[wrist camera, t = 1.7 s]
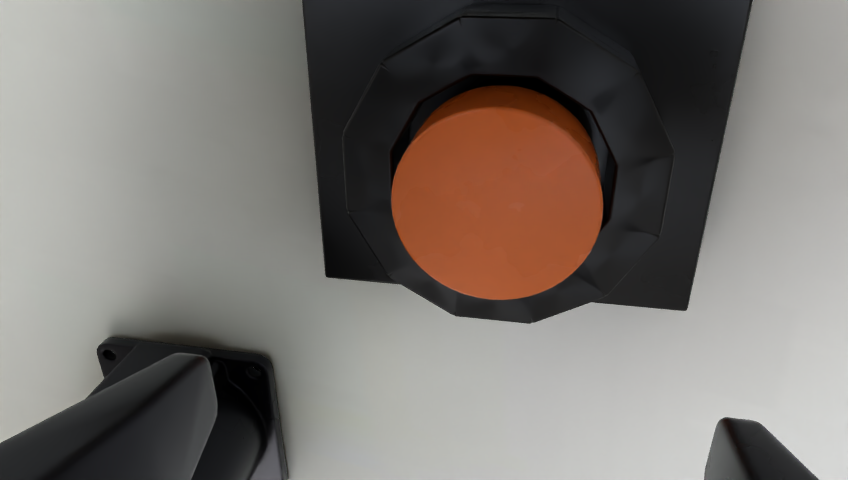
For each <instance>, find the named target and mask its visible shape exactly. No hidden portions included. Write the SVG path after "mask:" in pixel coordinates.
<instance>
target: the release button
mask: <svg viewBox="0 0 848 480" xmlns="http://www.w3.org/2000/svg"><path fill="white" fill-rule="evenodd" d="M391 206H392V215H393V219H394V223H395V227H396V230H397V232H398V235H399V237H400V239H401V241H402V243H403V245H404V247H405V249H406V250H407V252H408V253H409V254H410V256H411V257H412V259H413V260H414V261H415V262H416V263H417V264H418V265H419V266H420V267H421V269H423V270H424V271H425V272H426V273H427V274H428V275H430V276H431V277H432V278H434V279H435V280H437V281H438V282H440V283H441V284H443V285H445V286H447V287H449V288H451V289H452V290H455V291H458V292H460V293H463V294H466V295H469V296H473V297H477V298H484V299H492V300H508V299H518V298H523V297H528V296H531V295H535V294H538V293H541V292H543V291H545V290H548V289H550V288H552V287H554V286H555V285H557V284H559V283H560V282H562V281H563V280H565V279H566V278H567V277H568V276H570V275H571V274H572V273H573V272H574V271H575V270H576V269H577V268H578V267H579V266H580V265H581V264H582V263H583V262H584V260H585V259H586V257H587V256H588V255H589V253H590V252H591V250H592V248H593V246H594V244H595V242H596V240H597V237H598V234H599V231H600V228H601V223H602V218H603V195H602V186H601V178H600V170H599V163H598V159H597V154H596V151H595V148H594V146H593V143H592V141H591V138H590V137H589V135H588V133H587V131H586V130H585V128H584V127H583V125H582V124H581V123H580V122H579V120H578V119H577V118H576V117H575V116H574V115H573V114H572V113H571V112H570V111H569V110H568V109H567V108H565V107H564V106H563V105H561V104H560V103H559V102H557V101H556V100H554V99H552V98H550V97H548V96H546V95H545V94H542V93H539V92H537V91H534V90H531V89H527V88H523V87H519V86H509V85H491V86H485V87H479V88H475V89H472V90H468V91H465V92H463V93H461V94H459V95H456V96H454V97H452V98H451V99H449V100H448V101H446V102H444V103H443V104H442V105H440V106H439V107H438V108H437V109H436V110H434V111H433V112H432V113H431V114H430V116H429V117H428V118H427V119H426V120H425V121H424V123H423V124H422V126H421V127H420V128H419V130H418V132H417V133H416V135H415V136H414V138H413V140H412V141H411V143H410V145H409V146H408V148H407V149H406V151H405V153H404V154H403V156H402V158H401V160H400V162H399V164H398V166H397V169H396V172H395V175H394V179H393V185H392V191H391Z"/></svg>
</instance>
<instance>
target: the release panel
mask: <svg viewBox="0 0 848 480" xmlns="http://www.w3.org/2000/svg"><path fill="white" fill-rule="evenodd" d="M752 2H753V0H302V5H303V17H304V29H305V40H306V52H307V64H308V76H309V88H310V99H311V111H312V123H313V135H314V146H315V158H316V170H317V182H318V194H319V205H320V217H321V229H322V241H323V252H324V264H325V275H326V277H328V278H338V279H348V280H359V281H370V282H380V283H391V284H401V285H403V286H405V287H406V288H408V289H410V290H411V291H413V292H415V293H417V294H418V295H420V296H422V297H423V298H425V299H427V300H428V301H430V302H432V303H433V304H435V305H437V306H438V307H440V308H442V309H444V310H445V311H447V312H449V313H450V314H452V315H455V316H459V317H469V318H479V319H489V320H499V321H509V322H519V323H529V324H530V323H534V322H537V321H540V320H543V319H546V318H548V317H551V316H554V315H557V314H559V313H562V312H565V311H568V310H571V309H573V308H576V307H579V306H582V305H584V304H587V303H590V302H594V303H605V304H616V305H626V306H637V307H648V308H658V309H669V310H680V311H686V310H687V308H688V304H689V300H690V295H691V290H692V286H693V281H694V276H695V271H696V267H697V262H698V257H699V253H700V248H701V243H702V238H703V234H704V229H705V224H706V219H707V215H708V210H709V205H710V201H711V196H712V191H713V186H714V182H715V177H716V172H717V168H718V163H719V158H720V153H721V149H722V144H723V139H724V134H725V130H726V125H727V120H728V116H729V111H730V106H731V101H732V97H733V92H734V87H735V83H736V78H737V73H738V68H739V64H740V59H741V54H742V49H743V45H744V40H745V35H746V31H747V26H748V21H749V16H750V12H751V7H752ZM491 85H509V86H519V87H523V88H527V89H531V90H534V91H537V92H539V93H542V94H545V95H546V96H548V97H550V98H552V99H554V100H556V101H557V102H559V103H560V104H561V105H563V106H564V107H565V108H567V109H568V110H569V111H570V112H571V113H572V114H573V115H574V116H575V117H576V118H577V119H578V120H579V122H580V123H581V124H582V125H583V127H584V128H585V130H586V131H587V133H588V135H589V137H590V138H591V141H592V143H593V146H594V148H595V151H596V154H597V159H598V163H599V170H600V178H601V186H602V195H603V218H602V223H601V228H600V231H599V234H598V237H597V240H596V242H595V244H594V246H593V248H592V250H591V252H590V253H589V255H588V256H587V257H586V259H585V260H584V262H583V263H582V264H581V265H580V266H579V267H578V268H577V269H576V270H575V271H574V272H573V273H572V274H571V275H570V276H568V277H567V278H566V279H565V280H563V281H562V282H560V283H559V284H557V285H555V286H554V287H552V288H550V289H548V290H545V291H543V292H541V293H538V294H535V295H531V296H528V297H523V298H518V299H508V300H492V299H484V298H477V297H473V296H469V295H466V294H463V293H460V292H458V291H455V290H452V289H451V288H449V287H447V286H445V285H443V284H441V283H440V282H438V281H437V280H435V279H434V278H432V277H431V276H430V275H428V274H427V273H426V272H425V271H424V270H423V269H421V267H420V266H419V265H418V264H417V263H416V262H415V261H414V260H413V259H412V257H411V256H410V254H409V253H408V252H407V250H406V249H405V247H404V245H403V243H402V241H401V239H400V237H399V235H398V232H397V230H396V227H395V223H394V219H393V215H392V206H391V191H392V185H393V179H394V175H395V172H396V169H397V166H398V164H399V162H400V160H401V158H402V156H403V154H404V153H405V151H406V149H407V148H408V146H409V145H410V143H411V141H412V140H413V138H414V136H415V135H416V133H417V132H418V130H419V128H420V127H421V126H422V124H423V123H424V121H425V120H426V119H427V118H428V117H429V116H430V114H431V113H432V112H433V111H434V110H436V109H437V108H438V107H439V106H440V105H442V104H443V103H444V102H446V101H448V100H449V99H451V98H452V97H454V96H456V95H459V94H461V93H463V92H465V91H468V90H472V89H475V88H479V87H485V86H491Z"/></svg>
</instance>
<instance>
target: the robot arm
mask: <svg viewBox="0 0 848 480" xmlns="http://www.w3.org/2000/svg"><path fill="white" fill-rule="evenodd" d="M111 350H112V351H113V352H112V351H111ZM97 355H98V358H99V362H100V365H101V369H102V372H103V376H104V380H103V381H102V382H101V383H100V384H99V385H98V386H97V387H96V388H95V389H94V391H93V392H92V393H91V394H90V395H89V396H88V397H87V398H86V399H85V400H83V401H81V402H79V403H77V404H75V405H73V406H71V407H69V408H67V409H65V410H63V411H62V412H60V413H58V414H56V415H54V416H52V417H50V418H48V419H46V420H44V421H42V422H40V423H38V424H36V425H34V426H32V427H31V428H29V429H27V430H25V431H23V432H21V433H19V434H17V435H15V436H13V437H11V438H9V439H7V440H5V441H3V442H1V443H0V480H288V476H287V469H286V461H285V454H284V447H283V440H282V432H281V425H280V418H279V411H278V403H277V396H276V389H275V381H274V374H273V367H272V364H271V362H270V361H269V360H268V359H267V358H266V357H264V356H263V355H259V354H254V353H245V352H236V351H228V350H219V349H210V348H202V347H193V346H184V345H176V344H167V343H158V342H150V341H141V340H132V339H124V338H115V337H110V338H107V339H105V340H104V341H103V342H102V343H101V344H100V345H99V346H98V348H97ZM253 367H256V368H258V369H259V370H260V371H257V370H255V369H254V368H253ZM704 480H819V479H818V478H817V477H816V476H815V475H814V474H812V473H811V472H810V471H809V470H808V469H807V468H806V467H805V466H804V465H803V464H802V463H801V462H800V461H799V460H798V459H797V458H796V457H795V456H794V455H793V454H792V453H791V452H790V451H789V450H788V449H787V448H786V447H785V446H784V445H783V444H782V443H780V442H779V441H778V440H777V439H776V438H775V437H774V436H773V435H772V434H771V433H770V432H769V431H768V430H767V429H766V428H765V427H764V426H763V425H762V424H760V423H758V422H756V421H753V420H745V419H736V418H728V417H725V418H723V419H721V420H720V421H719V422H718V424H717V426H716V429H715V433H714V437H713V440H712V444H711V448H710V452H709V456H708V460H707V463H706V468H705V476H704Z"/></svg>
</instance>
